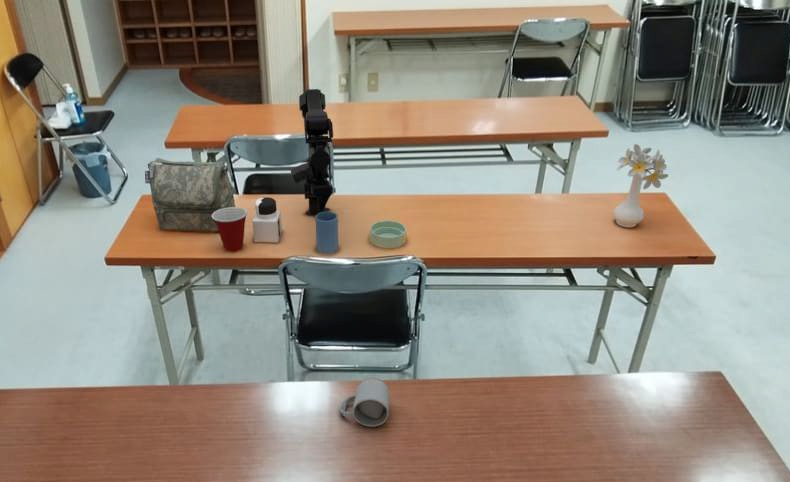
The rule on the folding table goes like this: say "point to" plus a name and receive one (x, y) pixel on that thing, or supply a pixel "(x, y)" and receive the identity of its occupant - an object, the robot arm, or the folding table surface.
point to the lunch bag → (188, 193)
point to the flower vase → (638, 183)
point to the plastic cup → (231, 227)
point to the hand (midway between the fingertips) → (319, 203)
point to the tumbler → (327, 232)
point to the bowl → (387, 234)
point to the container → (267, 221)
